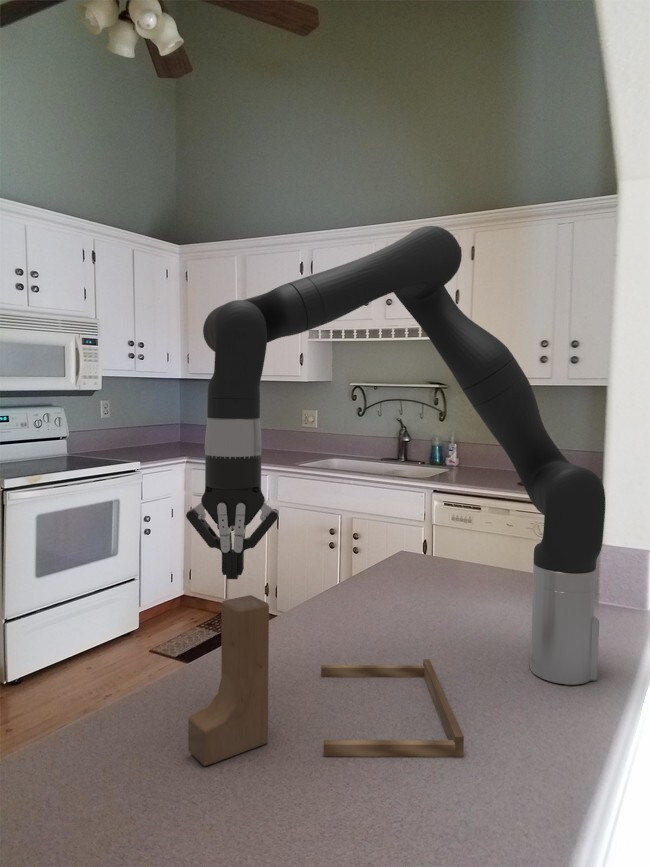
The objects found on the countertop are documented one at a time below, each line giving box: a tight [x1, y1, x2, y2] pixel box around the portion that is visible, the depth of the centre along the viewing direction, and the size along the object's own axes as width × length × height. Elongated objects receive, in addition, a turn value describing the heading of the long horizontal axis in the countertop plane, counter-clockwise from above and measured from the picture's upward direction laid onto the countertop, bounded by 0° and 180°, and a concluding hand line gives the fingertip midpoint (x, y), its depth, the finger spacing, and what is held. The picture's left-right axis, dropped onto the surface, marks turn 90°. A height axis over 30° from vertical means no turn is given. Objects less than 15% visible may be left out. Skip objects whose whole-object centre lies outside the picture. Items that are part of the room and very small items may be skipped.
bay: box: [320, 658, 465, 758], centre depth 90 cm, size 17×23×2 cm
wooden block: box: [187, 594, 270, 767], centre depth 79 cm, size 9×4×18 cm, turn 127°
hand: (232, 577), depth 88 cm, fingers closed
